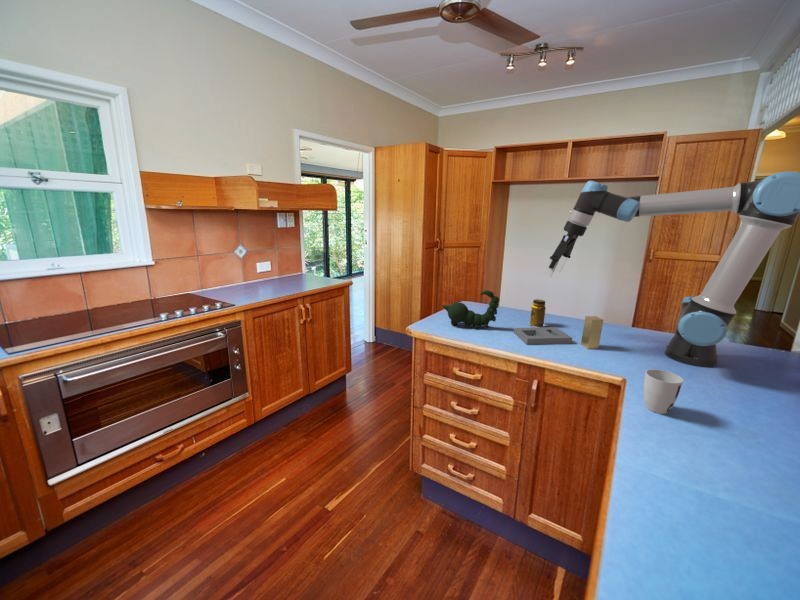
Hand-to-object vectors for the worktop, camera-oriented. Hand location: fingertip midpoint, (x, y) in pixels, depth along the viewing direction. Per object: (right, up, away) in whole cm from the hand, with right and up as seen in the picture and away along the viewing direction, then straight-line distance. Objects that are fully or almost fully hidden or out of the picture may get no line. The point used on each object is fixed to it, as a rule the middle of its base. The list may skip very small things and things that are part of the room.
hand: (552, 273), depth 141 cm
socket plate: (-2, -27, +6) cm, 28 cm away
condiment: (+3, -23, +23) cm, 32 cm away
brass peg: (+14, -30, -3) cm, 33 cm away
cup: (+8, -41, -46) cm, 62 cm away
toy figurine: (-31, -23, +19) cm, 43 cm away
